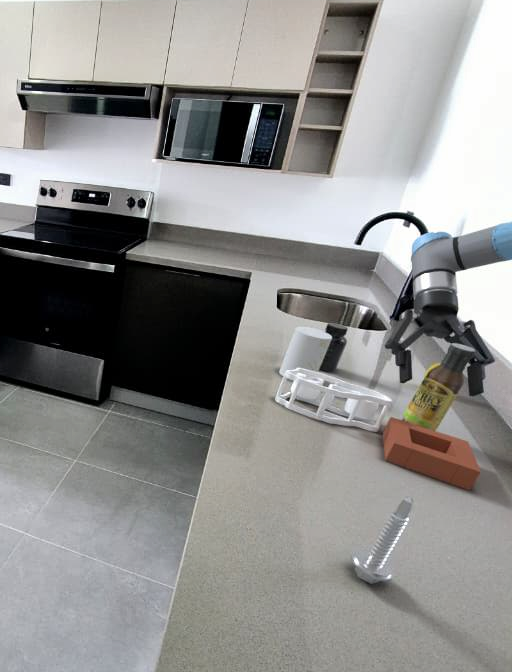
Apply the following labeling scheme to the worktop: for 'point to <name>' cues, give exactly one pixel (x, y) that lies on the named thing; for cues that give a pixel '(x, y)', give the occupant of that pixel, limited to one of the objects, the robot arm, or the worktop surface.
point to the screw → (382, 547)
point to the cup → (306, 350)
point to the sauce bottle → (439, 389)
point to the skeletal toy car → (357, 406)
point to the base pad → (430, 453)
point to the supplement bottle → (334, 346)
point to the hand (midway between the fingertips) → (441, 387)
